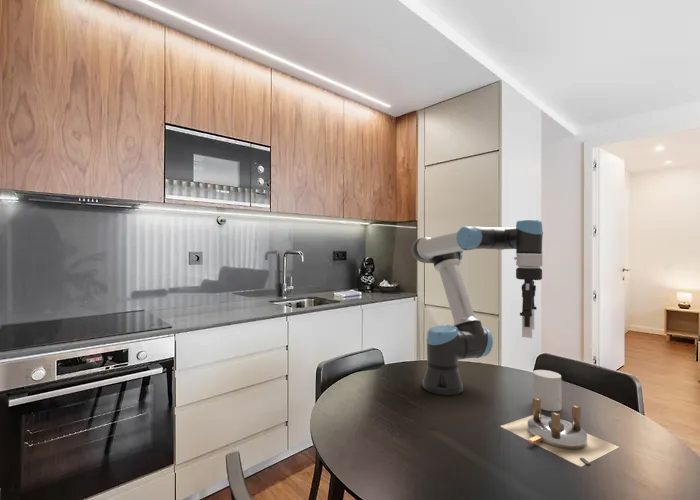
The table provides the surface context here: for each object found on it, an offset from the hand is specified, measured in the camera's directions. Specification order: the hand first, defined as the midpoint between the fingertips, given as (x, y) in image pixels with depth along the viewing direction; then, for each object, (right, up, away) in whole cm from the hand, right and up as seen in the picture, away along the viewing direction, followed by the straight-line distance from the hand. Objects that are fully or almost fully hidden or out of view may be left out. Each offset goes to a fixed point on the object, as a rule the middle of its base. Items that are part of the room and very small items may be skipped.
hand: (528, 333), depth 111 cm
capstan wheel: (-3, -24, -18) cm, 30 cm away
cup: (+8, -27, +3) cm, 28 cm away
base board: (-1, -26, -17) cm, 31 cm away
